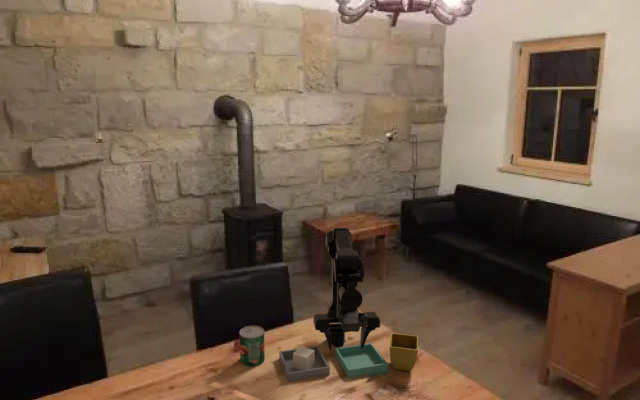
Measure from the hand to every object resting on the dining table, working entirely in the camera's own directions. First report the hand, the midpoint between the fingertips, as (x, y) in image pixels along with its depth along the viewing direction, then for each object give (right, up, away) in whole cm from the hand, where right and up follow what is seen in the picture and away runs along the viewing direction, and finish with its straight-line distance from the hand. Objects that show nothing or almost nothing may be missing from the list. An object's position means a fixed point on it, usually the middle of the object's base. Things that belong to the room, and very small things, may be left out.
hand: (346, 348), depth 137 cm
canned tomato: (-29, -9, +15) cm, 34 cm away
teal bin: (+5, -10, +14) cm, 18 cm away
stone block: (-13, -9, +12) cm, 20 cm away
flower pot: (+19, -10, +14) cm, 26 cm away
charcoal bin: (-13, -10, +12) cm, 20 cm away
